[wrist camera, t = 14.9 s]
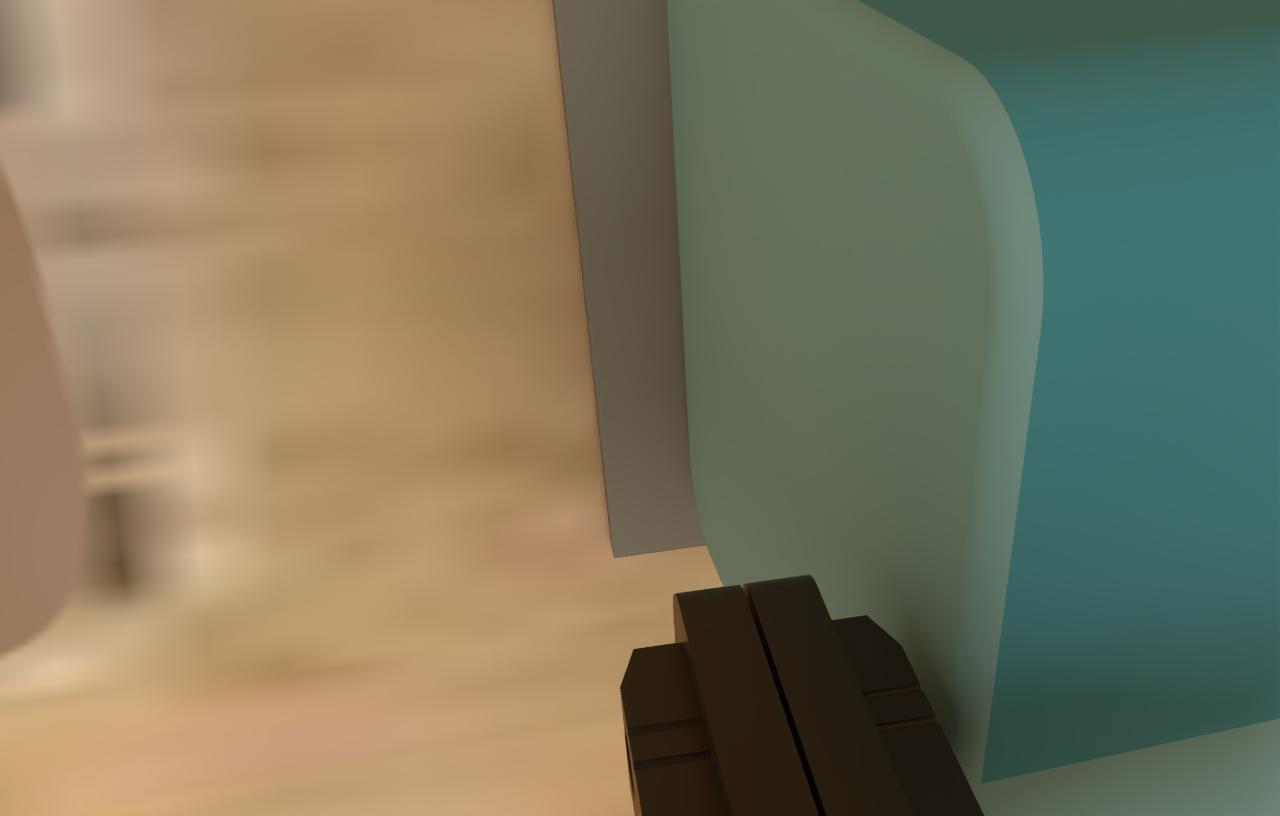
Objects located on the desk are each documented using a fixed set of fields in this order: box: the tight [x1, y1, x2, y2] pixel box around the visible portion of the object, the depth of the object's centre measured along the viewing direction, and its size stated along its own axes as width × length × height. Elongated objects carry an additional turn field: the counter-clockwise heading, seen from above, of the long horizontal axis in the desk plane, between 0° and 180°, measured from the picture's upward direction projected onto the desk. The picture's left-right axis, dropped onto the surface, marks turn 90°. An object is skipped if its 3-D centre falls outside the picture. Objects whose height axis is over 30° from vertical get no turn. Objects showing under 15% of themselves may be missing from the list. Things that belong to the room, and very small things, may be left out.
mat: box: [552, 0, 707, 558], centre depth 22 cm, size 14×20×1 cm
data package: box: [667, 0, 1280, 816], centre depth 16 cm, size 12×4×12 cm, turn 4°
